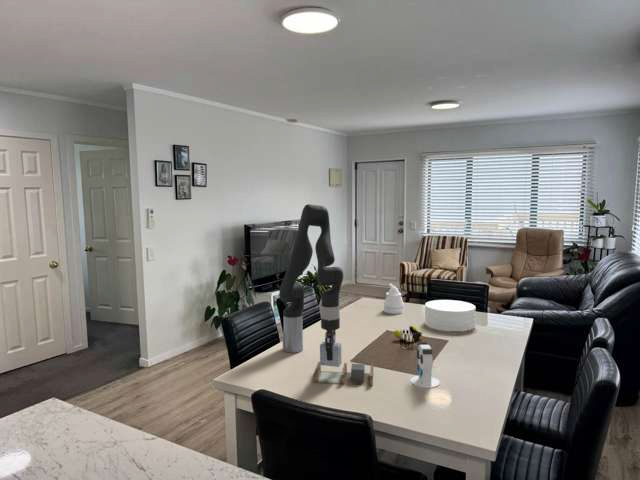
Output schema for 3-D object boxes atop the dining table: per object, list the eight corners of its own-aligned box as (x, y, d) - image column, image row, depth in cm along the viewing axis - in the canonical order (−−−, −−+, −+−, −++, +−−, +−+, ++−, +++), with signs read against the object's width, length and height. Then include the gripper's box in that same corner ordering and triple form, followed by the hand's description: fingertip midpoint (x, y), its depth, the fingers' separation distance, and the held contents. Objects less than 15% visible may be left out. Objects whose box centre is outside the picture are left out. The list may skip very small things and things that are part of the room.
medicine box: (341, 363, 175) (341, 342, 174) (338, 367, 171) (338, 346, 170) (323, 361, 178) (323, 341, 177) (319, 365, 174) (319, 344, 173)
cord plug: (351, 381, 171) (351, 369, 170) (352, 372, 180) (352, 360, 179) (363, 382, 170) (363, 370, 169) (364, 372, 179) (364, 361, 179)
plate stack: (480, 322, 255) (480, 303, 254) (468, 334, 232) (468, 313, 231) (433, 315, 270) (433, 297, 269) (418, 327, 247) (418, 307, 246)
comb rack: (313, 385, 170) (313, 373, 169) (318, 373, 182) (318, 361, 181) (372, 388, 166) (372, 376, 166) (373, 376, 178) (373, 364, 178)
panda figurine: (407, 375, 178) (408, 340, 177) (435, 375, 178) (436, 340, 177) (413, 388, 166) (413, 350, 165) (442, 388, 166) (443, 350, 165)
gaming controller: (392, 340, 224) (407, 345, 216) (392, 329, 224) (407, 334, 216) (411, 334, 233) (426, 339, 225) (411, 324, 233) (426, 328, 225)
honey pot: (383, 313, 277) (383, 285, 275) (384, 308, 289) (384, 282, 288) (404, 314, 275) (404, 286, 273) (403, 309, 287) (403, 282, 286)
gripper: (323, 311, 180) (323, 351, 182) (318, 321, 166) (318, 363, 168) (341, 312, 179) (341, 351, 181) (337, 321, 165) (338, 364, 167)
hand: (330, 357), depth 174 cm, fingers closed on medicine box, 5 cm apart
